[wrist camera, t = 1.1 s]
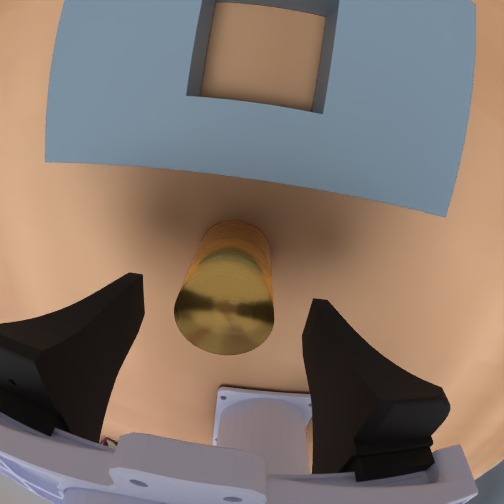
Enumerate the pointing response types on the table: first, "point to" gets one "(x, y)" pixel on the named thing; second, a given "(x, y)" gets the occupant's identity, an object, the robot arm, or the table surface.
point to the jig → (270, 116)
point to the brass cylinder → (228, 291)
